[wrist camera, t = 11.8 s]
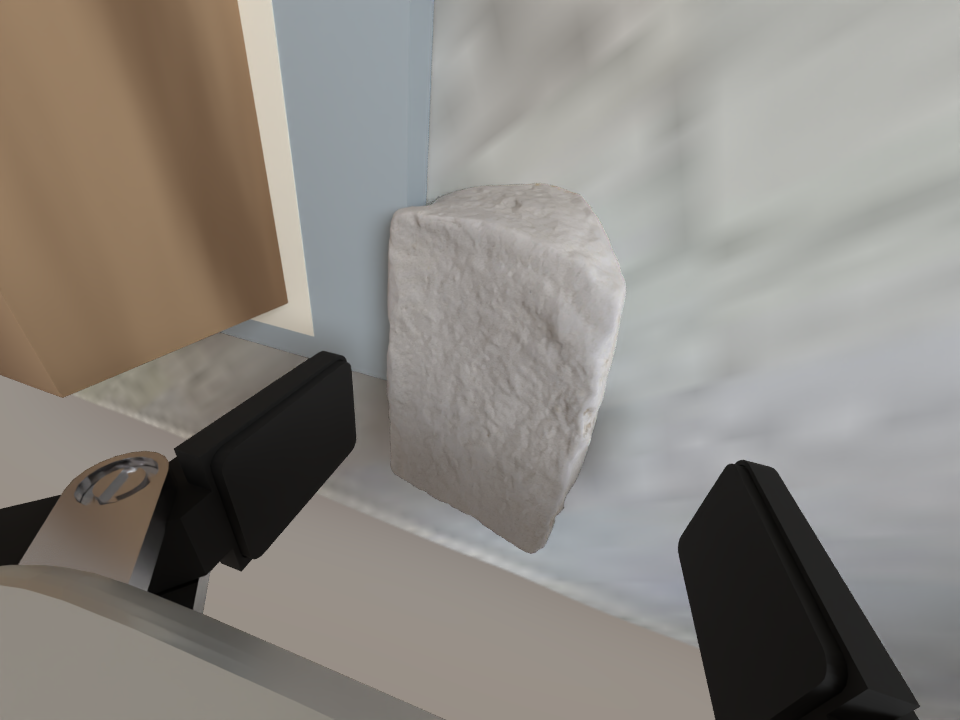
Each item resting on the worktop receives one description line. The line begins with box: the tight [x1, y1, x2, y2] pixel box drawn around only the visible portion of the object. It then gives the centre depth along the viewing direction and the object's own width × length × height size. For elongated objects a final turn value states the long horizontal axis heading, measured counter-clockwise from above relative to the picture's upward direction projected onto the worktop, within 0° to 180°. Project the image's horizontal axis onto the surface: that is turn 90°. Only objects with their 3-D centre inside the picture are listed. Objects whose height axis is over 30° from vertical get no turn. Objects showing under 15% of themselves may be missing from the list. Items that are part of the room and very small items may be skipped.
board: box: [220, 0, 434, 380], centre depth 11 cm, size 14×12×1 cm
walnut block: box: [0, 0, 288, 398], centre depth 8 cm, size 5×8×6 cm, turn 174°
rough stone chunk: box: [387, 183, 626, 554], centre depth 11 cm, size 10×6×6 cm, turn 170°
